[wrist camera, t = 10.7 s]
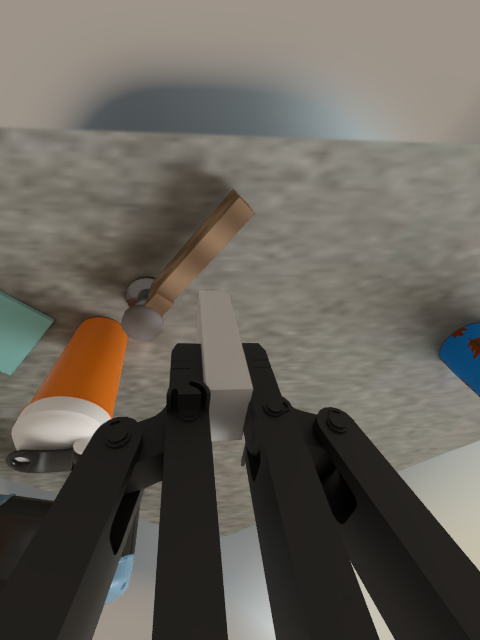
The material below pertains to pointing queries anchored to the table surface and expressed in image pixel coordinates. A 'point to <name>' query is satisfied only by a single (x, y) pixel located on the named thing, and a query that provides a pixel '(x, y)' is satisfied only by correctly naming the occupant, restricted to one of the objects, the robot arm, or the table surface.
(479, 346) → the thermos
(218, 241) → the bar
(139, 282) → the grey curved piece
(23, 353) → the mat
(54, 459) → the shaker bottle
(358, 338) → the table surface
